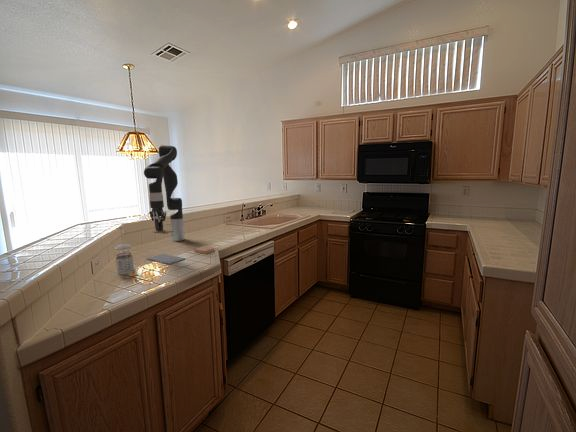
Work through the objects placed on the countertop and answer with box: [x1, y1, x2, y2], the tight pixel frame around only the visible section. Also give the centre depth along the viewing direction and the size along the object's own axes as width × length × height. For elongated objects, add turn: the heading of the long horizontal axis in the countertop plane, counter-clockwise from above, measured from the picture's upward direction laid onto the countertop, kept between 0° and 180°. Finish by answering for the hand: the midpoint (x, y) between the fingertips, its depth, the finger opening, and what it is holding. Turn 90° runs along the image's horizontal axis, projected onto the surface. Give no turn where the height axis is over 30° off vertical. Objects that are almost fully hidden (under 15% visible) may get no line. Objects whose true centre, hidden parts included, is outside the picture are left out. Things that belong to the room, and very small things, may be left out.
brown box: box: [152, 220, 174, 235], centre depth 170 cm, size 10×7×7 cm
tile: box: [193, 246, 215, 255], centre depth 188 cm, size 2×8×10 cm
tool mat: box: [146, 253, 186, 265], centre depth 173 cm, size 22×11×1 cm, turn 60°
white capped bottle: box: [114, 226, 136, 275], centre depth 151 cm, size 10×12×25 cm
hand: (159, 227), depth 172 cm, fingers closed on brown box, 3 cm apart
